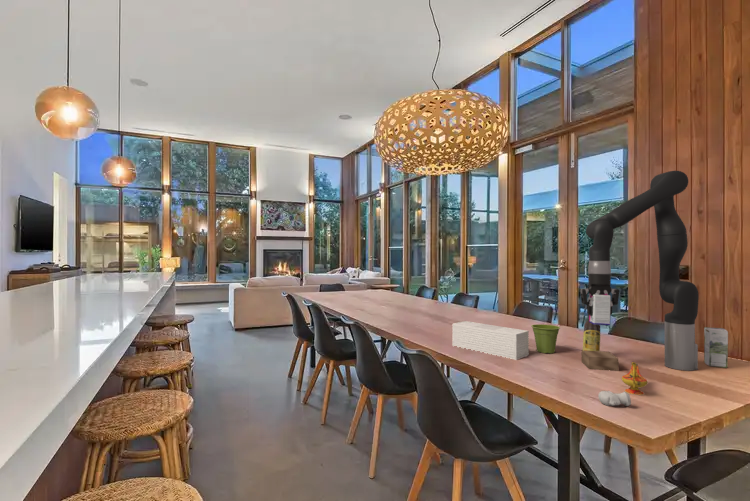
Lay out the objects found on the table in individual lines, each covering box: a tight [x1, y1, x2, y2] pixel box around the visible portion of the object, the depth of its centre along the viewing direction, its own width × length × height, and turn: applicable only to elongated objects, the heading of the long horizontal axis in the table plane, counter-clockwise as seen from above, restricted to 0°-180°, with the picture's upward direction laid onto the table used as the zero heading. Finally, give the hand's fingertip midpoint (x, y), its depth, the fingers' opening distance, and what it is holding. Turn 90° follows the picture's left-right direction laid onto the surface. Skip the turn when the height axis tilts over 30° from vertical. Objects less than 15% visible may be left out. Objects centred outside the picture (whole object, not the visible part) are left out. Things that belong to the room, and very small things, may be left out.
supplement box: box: [589, 294, 611, 326], centre depth 151 cm, size 6×6×12 cm
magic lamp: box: [621, 361, 648, 396], centre depth 125 cm, size 7×18×11 cm, turn 145°
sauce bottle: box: [582, 314, 601, 351], centre depth 164 cm, size 6×6×20 cm
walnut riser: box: [580, 349, 619, 372], centre depth 151 cm, size 10×10×5 cm
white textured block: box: [451, 320, 530, 361], centre depth 175 cm, size 32×11×11 cm, turn 42°
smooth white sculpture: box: [598, 390, 632, 407], centre depth 113 cm, size 4×8×5 cm
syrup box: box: [703, 326, 729, 369], centre depth 152 cm, size 6×6×14 cm
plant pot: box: [530, 323, 561, 354], centre depth 173 cm, size 12×12×11 cm
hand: (599, 315), depth 151 cm, fingers closed on supplement box, 6 cm apart
